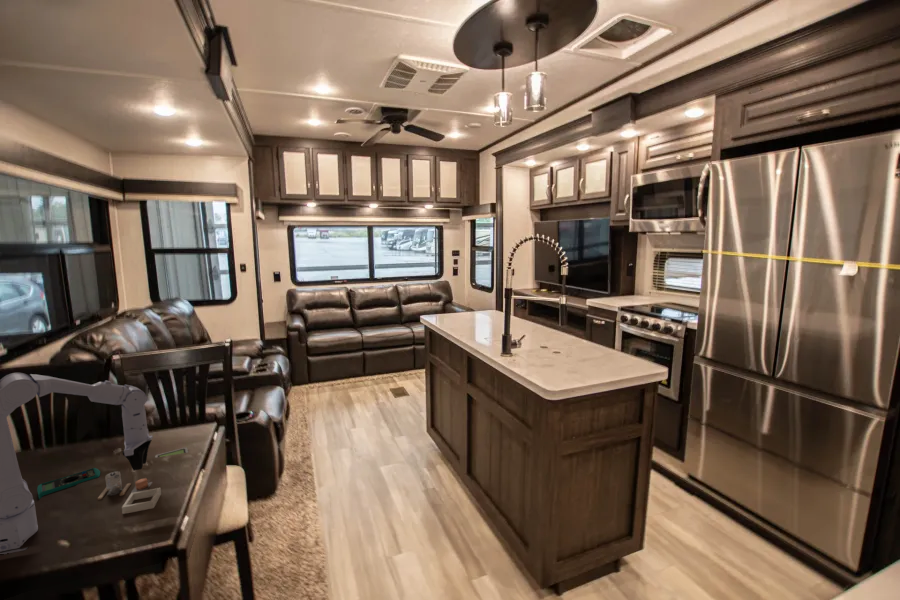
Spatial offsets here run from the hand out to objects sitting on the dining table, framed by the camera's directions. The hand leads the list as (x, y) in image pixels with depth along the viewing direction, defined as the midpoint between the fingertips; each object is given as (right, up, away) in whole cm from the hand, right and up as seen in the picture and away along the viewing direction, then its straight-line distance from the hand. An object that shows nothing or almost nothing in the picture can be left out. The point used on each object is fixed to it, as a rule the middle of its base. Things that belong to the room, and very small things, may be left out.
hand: (139, 466), depth 127 cm
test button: (0, -7, +1) cm, 7 cm away
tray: (+6, -9, -7) cm, 13 cm away
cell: (-7, -8, -2) cm, 10 cm away
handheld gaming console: (-3, -7, +19) cm, 21 cm away
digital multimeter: (-26, -9, +4) cm, 28 cm away
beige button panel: (-3, -9, 0) cm, 9 cm away
